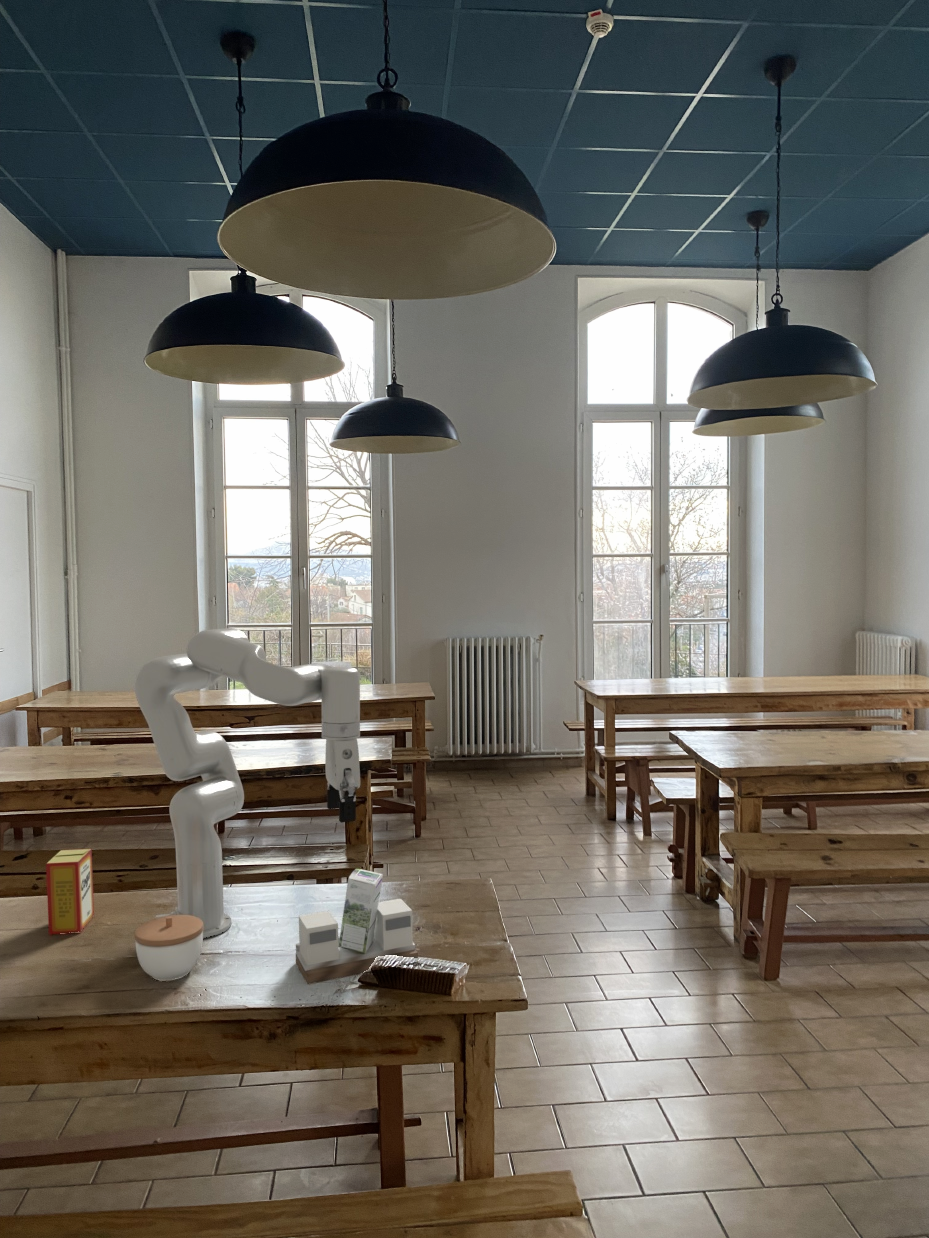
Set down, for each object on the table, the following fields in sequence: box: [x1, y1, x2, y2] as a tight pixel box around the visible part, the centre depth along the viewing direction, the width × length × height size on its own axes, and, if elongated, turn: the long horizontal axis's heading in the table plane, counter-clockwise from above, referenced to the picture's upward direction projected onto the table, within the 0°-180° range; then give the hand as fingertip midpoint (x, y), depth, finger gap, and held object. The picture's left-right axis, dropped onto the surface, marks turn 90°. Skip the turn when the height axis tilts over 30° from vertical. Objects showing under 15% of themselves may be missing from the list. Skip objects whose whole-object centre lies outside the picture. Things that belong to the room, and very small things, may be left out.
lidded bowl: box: [134, 915, 204, 980], centre depth 171 cm, size 13×13×11 cm
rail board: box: [295, 935, 419, 985], centre depth 174 cm, size 22×10×4 cm, turn 113°
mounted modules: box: [298, 898, 414, 965], centre depth 173 cm, size 21×7×7 cm, turn 113°
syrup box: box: [339, 868, 384, 953], centre depth 173 cm, size 6×6×14 cm
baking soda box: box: [45, 848, 95, 936], centre depth 195 cm, size 10×6×16 cm
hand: (341, 814), depth 176 cm, fingers open, 9 cm apart
